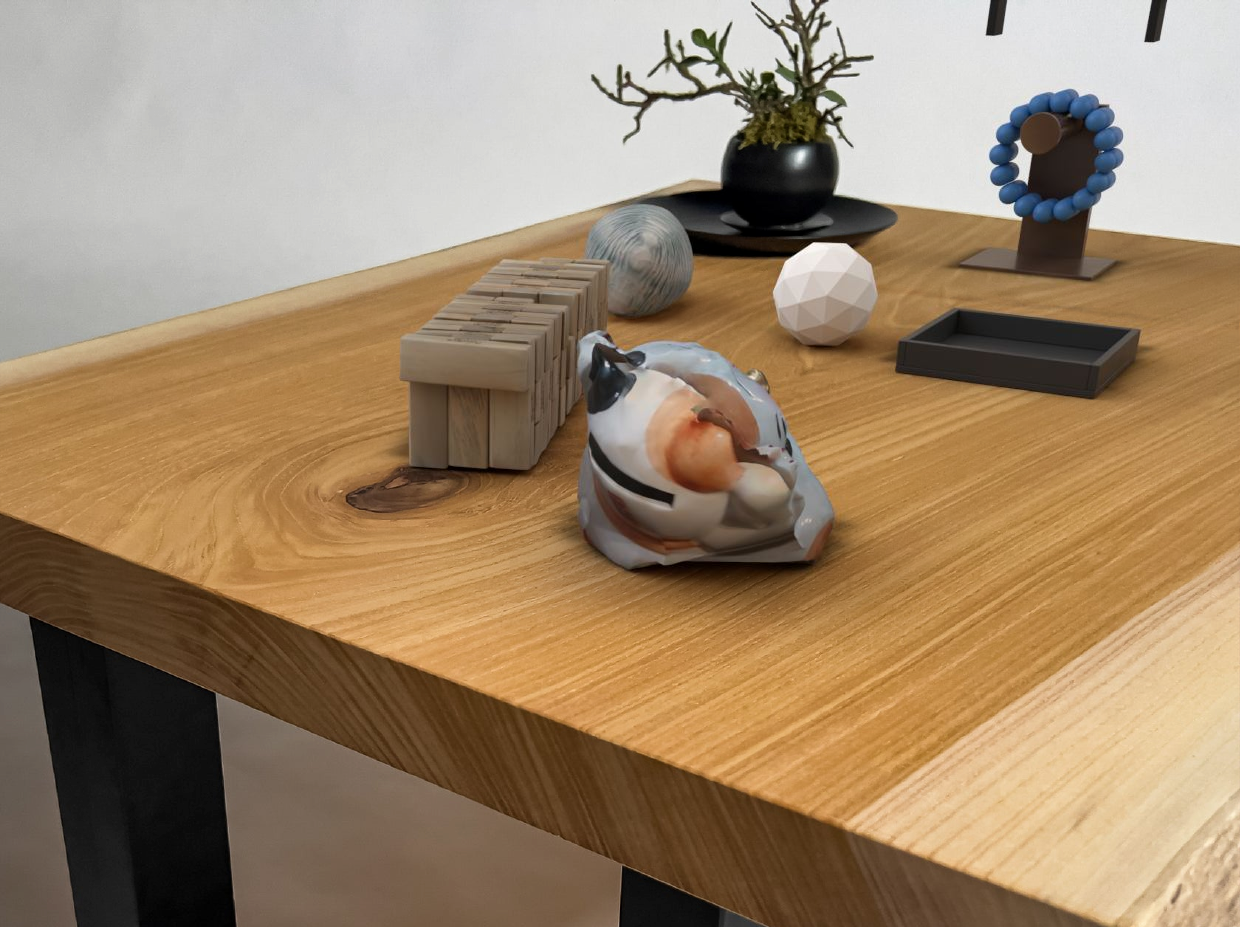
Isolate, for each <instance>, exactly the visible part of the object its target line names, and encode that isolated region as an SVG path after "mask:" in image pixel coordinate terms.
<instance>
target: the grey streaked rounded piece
mask: <svg viewBox="0 0 1240 927" xmlns="http://www.w3.org/2000/svg"><path fill="white" fill-rule="evenodd" d="M584 250H585V251H584V252H585V253H584V259H598V260H609V261H610V280H609V298H608V314H610V315H612V316H615V317H617V318H622V319H623V318H624V319H628V320H634V319H637V318H642V317H648V316H652V315H655V314H657V313H659V312H661V311H663V310H665V309H667V308H668V307H670V306H671V305H673V303H675V302H677V301H678V300H679V299H680V298H681V297H682V296H683V295H684V294H685V293H686V292H687V291H688V289H689V288H690V285H691V283H692V278H693V272H694V255H693V249H692V244H691V242H690V238H689V235H688V233H687V231H686V230H685V228H684V226H683V225H682V223H681V222H680V221H679V219H678V218H677V217H676V216H675V215H674V214H673V213H672V212H671V211H669V209H666V208H664V207H662V206H658V205H653V204H645V203H644V204H643V203H642V204H641V203H638V204H630V205H626V206H623V207H619V208H617V209H615V210H613V211H611V212H609V213H607V214H605V215H604V216H602V217H601V218H600V219H599V220H598V221H597V222H596V223H595V224H594V225H593V226H592V227H591V229H590V230H589V231H588V234H587V238H586V243H585V249H584Z"/></svg>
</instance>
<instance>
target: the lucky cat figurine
mask: <svg viewBox="0 0 1240 927" xmlns="http://www.w3.org/2000/svg"><path fill="white" fill-rule="evenodd" d="M577 352H578V354H579V358H578V366H577V369H578V375H579V379H580V382H581V384H582V386H583V395H584V396H583V398H584V403H585V405H586V407H587V408H586V422H587V423H586V424H587V444H586V445H585V448H584V451H583V453H582V455H581V459H580V467H579V474H578V480H577V496H576V498H577V500H578V511H577V515H576V516H577V517H576V519H577V522H578V525H579V529H580V533H581V534H580V535H581V538H582V540H583V541H585V542H587V543H588V544H590V545H591V546H592V547H593V548H595V549H596V550H598V551H599V552H601V553H602V554H603V555H605V556H606V557H607V558H608V559H609V560H611V561H612V562H613V563H615V564H617V565H618V566H621V567H623V568H624V569H625V570H634V569H639V568H644V567H649V566H653V565H659V564H660V565H663V566H669V565H674V564H678V563H681V562H725V563H726V562H729V563H730V562H731V563H733V562H734V563H737V562H738V563H791V564H805V565H806V564H807V565H812V566H813V565H815V564H816V563H817V561H818V560H819V558H820V555H821V554H822V550H823V548H824V546H825V543H826V542H827V540H828V538H829V537H830V534H831V533H832V531H833V529H834V521H835V519H836V518H835V510H834V507H833V504H832V502H831V499H830V498H829V495H828V493H827V491H826V489H825V487H824V486H823V484H822V482H821V481H820V480H819V478H818V477H817V476H816V475H815V474H814V472H813V471H812V470H811V467H810V466H809V464H808V463H807V461H806V458H805V455H804V454H803V453H802V451H803V450H802V449H801V446H799V444H798V442H797V441H796V438H795V437H794V436H793V435H792V434H791V432H790V430H789V425H788V421H787V419H786V417H785V416H784V413H783V411H782V409H781V408H780V407H779V405H778V404H777V403H776V401H775V400H774V399H773V398H772V397H771V395H770V393H771V389H770V388H771V387H770V385H769V380H768V379H767V378H766V376H765V374H764V373H763V371H761V370H759V369H757V368H751V369H748V370H746V371H743V372H742V371H741V370H740V369H739V368H738V367H737V366H736V364H735V363H732V362H730V361H729V360H728V359H727V358H726V357H724V356H723V355H721V353H720V352H718V351H715V350H710V349H707V348H706V347H704V346H702V345H701V344H700V343H698V342H693V341H690V342H688V341H676V340H657V341H654V340H653V341H649V342H646V343H643V344H639V345H636V346H634V347H633V348H631V349H629V350H623V349H621V348H619V347H618V346H617V345H616V343H615V341H614V340H613V338H612V336H611V334H610V333H609V332H608V331H607V332H603V331H600V330H598V331H595V332H593V333H590V334H588V335H586V336H585V337H583V338H582V339H581V340H579V341H578V344H577Z"/></svg>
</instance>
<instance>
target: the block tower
mask: <svg viewBox="0 0 1240 927" xmlns="http://www.w3.org/2000/svg"><path fill="white" fill-rule="evenodd" d="M609 280H610V261H609V260H598V259H585V258H577V259H575V260H574V259H573V258H561V257H545V256H543V257H540V258H539V259H537V260H524V259H513V258H512V259H511V258H510V259H509V258H503V259H502V260H500V262H499V263H498V264H497V265H494V266H493V267H491V268H490V269H489V270H487V272H486V273H485V274H484V275H482V276H481V278H480V279H479V280H477V281H476V282H474V283H473V284H472V285H470V287H468V288H467V289H466V290H465V294H458V295H456V296H455V297H454V299H453V300H452V301H451V302H450V303H448V304H447V305H445V306H442V307H441V308H440V309H438V311H437V313H435V314H434V315H433V316H432V319H430V320H428V321H426V323H425V324H423V326H421V327H420V328H419V329H418V330H416V331H414V333H405V334H403V336H401V338H400V340H399V381H401V382H408V453H409V454H408V456H409V458H408V460H409V461H408V462H409V464H408V465H409V466H410V467H413V468H414V467H415V468H429V469H442V470H443V469H444V470H445V469H448V468H449V467H450V466H452V467H458V468H459V467H460V468H470V469H484V470H486V469H489V468H494V469H503V470H504V469H505V470H519V471H528V470H530V469H531V468H533V467H535V465H537V463H538V461H539V459H540V456H541V455H542V453H543V452H544V451H545V450H546V449H547V448H548V444H549V443H550V441H551V439H552V438H553V437H554V436H555V432H556V431H557V428H558V427H562V426H563V424H564V423H565V421H566V416H567V415H569V413H570V412H571V410H572V408H573V407H574V405H576V404H577V403H578V401H579V399H580V398H581V396H582V395H584V393H583V386H582V384H581V382H580V379H579V375H578V369H577V366H578V358H579V354H578V352H577V344H578V341H579V340H581V339H582V338H583V337H585V336H586V335H588V334H590V333H593V332H595V331H598V330H600V331H603V332H608V314H609V313H608V298H609Z"/></svg>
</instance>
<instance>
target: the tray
mask: <svg viewBox="0 0 1240 927" xmlns="http://www.w3.org/2000/svg"><path fill="white" fill-rule="evenodd" d="M1141 331H1142V329H1141V328H1132V327H1124V326H1118V325H1117V326H1116V325H1109V324H1108V325H1107V324H1100V323H1098V324H1097V323H1090V322H1081V321H1073V320H1063V319H1054V318H1046V317H1045V318H1044V317H1038V316H1029V315H1022V314H1021V315H1020V314H1012V313H1005V312H1004V313H1002V312H996V311H995V312H993V311H985V310H976V309H967V308H960V307H952V308H951V309H949V310H948V311H946V312H944V313H943V314H941V315H939V316H937V317H935V318H934V319H933V320H931V321H929V322H927V323H926V324H924V325H921V326H920V327H919V328H917V329H916V330H914V331H912V332H911V333H908V334H907V335H906V336H904V337H902V338H901V339H899V340H898V342H897V343H898V344H897V351H896V360H895V368H894V372H895V373H902V374H908V375H915V376H923V377H931V378H938V379H944V380H953V381H960V382H968V383H974V384H981V385H990V386H995V387H996V386H997V387H1004V388H1011V389H1019V390H1026V391H1033V392H1041V393H1048V394H1055V395H1063V396H1069V397H1070V396H1071V397H1075V398H1076V397H1077V398H1085V399H1092V400H1095V398H1096V397H1098V395H1100V394H1101V393H1102V392H1103V391H1104V390H1105V389H1106V388H1107V387H1108V386H1109V385H1110V384H1112V383H1113V381H1114V380H1115V379H1116V378H1118V377H1119V376H1120V375H1121V374H1122V373H1123V372H1124V371H1125V370H1126V369H1127V368H1128V367H1129V366H1130V365H1131V364H1133V363H1134V362H1135V361H1136V358H1137V353H1138V348H1139V342H1140V337H1141Z"/></svg>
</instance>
